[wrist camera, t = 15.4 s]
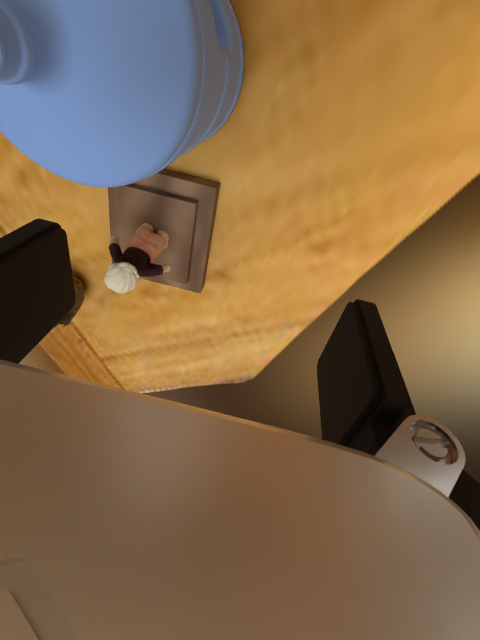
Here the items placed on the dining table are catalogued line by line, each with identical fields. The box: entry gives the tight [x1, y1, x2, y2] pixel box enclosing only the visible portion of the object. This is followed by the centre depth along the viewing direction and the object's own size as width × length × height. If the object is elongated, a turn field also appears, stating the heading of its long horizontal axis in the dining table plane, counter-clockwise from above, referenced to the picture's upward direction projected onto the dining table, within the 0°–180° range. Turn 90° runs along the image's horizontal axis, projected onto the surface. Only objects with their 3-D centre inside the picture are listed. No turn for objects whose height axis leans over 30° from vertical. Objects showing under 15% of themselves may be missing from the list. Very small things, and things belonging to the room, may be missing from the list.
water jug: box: [0, 0, 244, 187], centre depth 23 cm, size 16×16×28 cm
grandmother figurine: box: [104, 223, 171, 293], centre depth 38 cm, size 8×4×13 cm, turn 74°
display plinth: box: [108, 169, 220, 293], centre depth 44 cm, size 14×16×4 cm
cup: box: [54, 275, 84, 327], centre depth 51 cm, size 8×7×8 cm
